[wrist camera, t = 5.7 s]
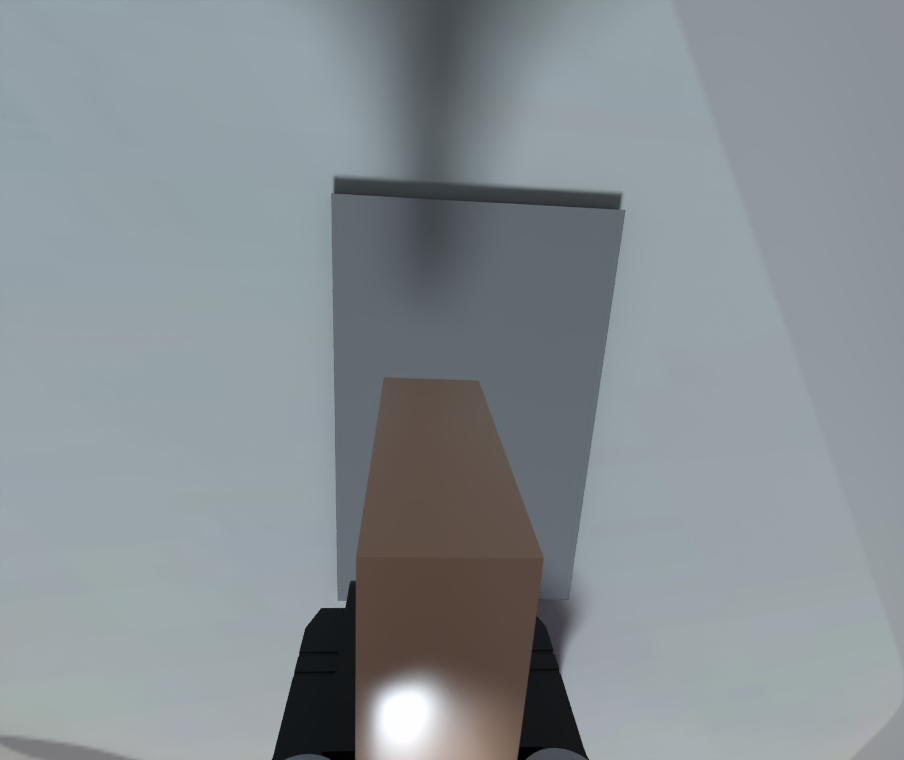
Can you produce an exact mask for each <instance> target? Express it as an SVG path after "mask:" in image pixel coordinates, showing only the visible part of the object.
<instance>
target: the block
mask: <svg viewBox="0 0 904 760" xmlns="http://www.w3.org/2000/svg"><path fill="white" fill-rule="evenodd" d="M543 561H544V557H543V554H542V551H541V549H540V546H539V543H538V541H537V538H536V535H535V532H534V530H533V527H532V524H531V521H530V519H529V516H528V513H527V511H526V508H525V505H524V502H523V500H522V497H521V494H520V492H519V489H518V486H517V483H516V481H515V478H514V475H513V473H512V470H511V467H510V464H509V462H508V459H507V456H506V454H505V451H504V448H503V445H502V443H501V440H500V437H499V434H498V432H497V429H496V426H495V424H494V421H493V418H492V415H491V413H490V410H489V407H488V405H487V402H486V399H485V396H484V394H483V391H482V388H481V386H480V383H479V380H448V379H418V378H388V377H384V379H383V386H382V392H381V399H380V405H379V412H378V418H377V425H376V431H375V437H374V444H373V450H372V457H371V463H370V470H369V476H368V483H367V489H366V495H365V502H364V508H363V515H362V521H361V528H360V534H359V541H358V547H357V553H356V698H355V760H517V758H518V751H519V743H520V736H521V728H522V721H523V713H524V705H525V698H526V690H527V683H528V675H529V668H530V660H531V652H532V645H533V637H534V630H535V622H536V614H537V607H538V599H539V592H540V584H541V577H542V569H543Z"/></svg>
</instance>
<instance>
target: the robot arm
mask: <svg viewBox="0 0 904 760" xmlns="http://www.w3.org/2000/svg"><path fill="white" fill-rule="evenodd" d="M355 698H356V581H350V584H349V590H348V596H347V602H346V608H321V609H320V610H319V612H318V613H317V614H316V616H315V617H314V618H313V619H312V621H311V622H310V623H309V624H308V626H307V627H306V628H305V632H304V636H303V640H302V644H301V648H300V652H299V657H298V660H297V664H296V668H295V672H294V677H293V680H292V684H291V688H290V691H289V695H288V699H287V703H286V707H285V711H284V715H283V719H282V723H281V727H280V731H279V735H278V739H277V743H276V747H275V751H274V755H273V758H272V760H355ZM517 760H589V759H588V757H587V755H586V753H585V750H584V747H583V744H582V741H581V738H580V735H579V731H578V728H577V725H576V722H575V719H574V715H573V712H572V709H571V706H570V702H569V699H568V696H567V693H566V690H565V686H564V683H563V680H562V677H561V674H559V667H558V664H557V661H556V658H555V654H553V648H552V645H551V641H550V638H549V635H548V632H547V629H546V626H545V625H544V624H543V623H542V622H541V620H540V619H539V618H538V617H537V616H536V622H535V630H534V637H533V645H532V652H531V660H530V668H529V675H528V683H527V690H526V698H525V705H524V713H523V721H522V728H521V736H520V743H519V751H518V758H517Z"/></svg>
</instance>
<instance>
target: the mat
mask: <svg viewBox="0 0 904 760" xmlns="http://www.w3.org/2000/svg"><path fill="white" fill-rule="evenodd" d="M331 199H332V263H333V327H334V391H335V456H336V520H337V584H338V601H347V596H348V590H349V584H350V581H356V553H357V547H358V541H359V534H360V528H361V521H362V515H363V508H364V502H365V495H366V489H367V483H368V476H369V470H370V463H371V457H372V450H373V444H374V437H375V431H376V425H377V418H378V412H379V405H380V399H381V392H382V386H383V379H384V377H388V378H418V379H448V380H479V383H480V386H481V388H482V391H483V394H484V396H485V399H486V402H487V405H488V407H489V410H490V413H491V415H492V418H493V421H494V424H495V426H496V429H497V432H498V434H499V437H500V440H501V443H502V445H503V448H504V451H505V454H506V456H507V459H508V462H509V464H510V467H511V470H512V473H513V475H514V478H515V481H516V483H517V486H518V489H519V492H520V494H521V497H522V500H523V502H524V505H525V508H526V511H527V513H528V516H529V519H530V521H531V524H532V527H533V530H534V532H535V535H536V538H537V541H538V543H539V546H540V549H541V551H542V554H543V557H544V561H543V569H542V577H541V584H540V592H539V599H538V600H568V598H569V592H570V585H571V578H572V571H573V564H574V558H575V551H576V544H577V537H578V530H579V523H580V517H581V510H582V503H583V496H584V489H585V482H586V476H587V469H588V462H589V455H590V448H591V442H592V435H593V428H594V421H595V414H596V407H597V401H598V394H599V387H600V380H601V373H602V366H603V360H604V353H605V346H606V339H607V332H608V325H609V319H610V312H611V305H612V298H613V291H614V285H615V278H616V271H617V264H618V257H619V250H620V244H621V237H622V230H623V223H624V216H625V210H615V209H597V208H580V207H562V206H544V205H526V204H508V203H491V202H473V201H455V200H437V199H420V198H402V197H384V196H366V195H348V194H331Z"/></svg>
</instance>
